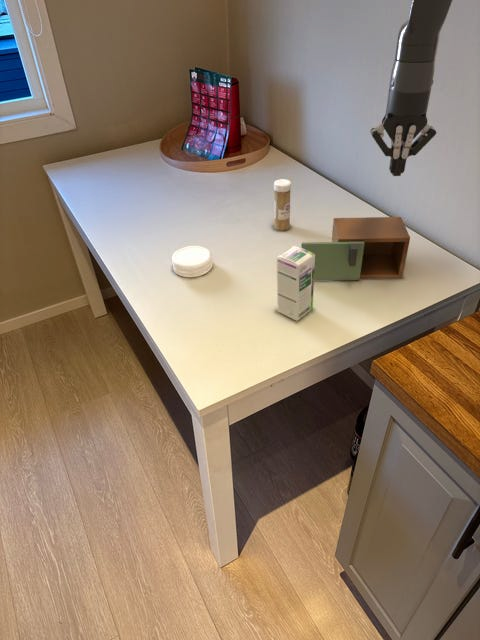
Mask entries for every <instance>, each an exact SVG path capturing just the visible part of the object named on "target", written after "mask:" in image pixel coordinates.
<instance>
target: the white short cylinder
mask: <svg viewBox="0 0 480 640" xmlns="http://www.w3.org/2000/svg"><path fill="white" fill-rule="evenodd" d="M171 262H172V269H173V272H174V273H175V274H176V275H178V276H181V277H184V278H197V277H201V276H204V275H205V274H207V273H208V272H210V271H211V269H212V267H213V257H212V253H211V250H209V249H208V248H206V247H204V246H199V245H188V246H185V247H182V248H179V249H178V250H176V251H175V252H174V253H173V254H172V257H171Z"/></svg>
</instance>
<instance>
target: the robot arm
mask: <svg viewBox="0 0 480 640" xmlns="http://www.w3.org/2000/svg"><path fill="white" fill-rule="evenodd" d="M453 1H454V0H411V4H410V5H411V6H410V10H409V13H408V17H407V20H406V21H405V22H403V23H402V25H400V28H399V31H398V35H397V40H396V48H395V54H394V55H395V56H394V60H393V65H392V69H391V72H390V80H389V86H388V95H387V100H386V101H387V102H386V109H385V115H384V117H383V118H382V120H381V123H380V124H379V125H378V126H377V127H372V128H370V131H369V132H370V135H371V136H372V139H373V140H374V141H375V143H376V144H377V146H378V147H379V148H380V150H381V152H382V153H383V154H384V156H385V157H390V161H389V167H388V170H389V172H390V174H391V175H392V177H401V175H402V174H404V172H405V169H406V164H407V159H408V158H409V157H411V156H416V155H418V153H419V152H420V151H421V150H422V149H423V148H424V147H426V145H427V144H428V143H429V142H430V141H431V140H432V139H433V138H434V137H435V136H436V135H437V130H436V129H435V128H434V126H432V125H429V124H428V117H427V113H428V107H429V102H430V97H431V92H432V86H433V84H434V75H435V68H436V67H435V65H436V58H437V54H438V47H439V42H440V35H441V31H442V28H443V26H444V24H445V21H446V19H447V17H448V14H449V12H450V9H451V5H452V3H453ZM384 131H385V132H386V134H387V135H388V137H389V139H390V144H391V146H390V147H388V145H387V143H386V142H385V140H384V139H383V137H384V136H385V132H384ZM418 135H419V136H418ZM416 137H417V138H416ZM415 138H416V139H415ZM413 140H414V141H413Z"/></svg>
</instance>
